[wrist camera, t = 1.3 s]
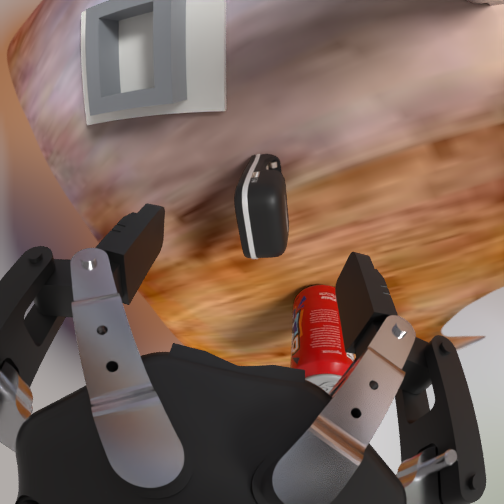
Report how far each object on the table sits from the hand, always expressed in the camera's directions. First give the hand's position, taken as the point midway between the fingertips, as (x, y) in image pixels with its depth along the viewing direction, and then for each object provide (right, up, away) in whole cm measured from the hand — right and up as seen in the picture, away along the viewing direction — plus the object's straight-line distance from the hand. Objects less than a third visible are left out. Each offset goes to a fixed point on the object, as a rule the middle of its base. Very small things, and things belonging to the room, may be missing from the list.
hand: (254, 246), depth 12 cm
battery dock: (-12, +22, +12) cm, 28 cm away
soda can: (+10, -7, +30) cm, 32 cm away
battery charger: (+2, +8, +20) cm, 22 cm away
